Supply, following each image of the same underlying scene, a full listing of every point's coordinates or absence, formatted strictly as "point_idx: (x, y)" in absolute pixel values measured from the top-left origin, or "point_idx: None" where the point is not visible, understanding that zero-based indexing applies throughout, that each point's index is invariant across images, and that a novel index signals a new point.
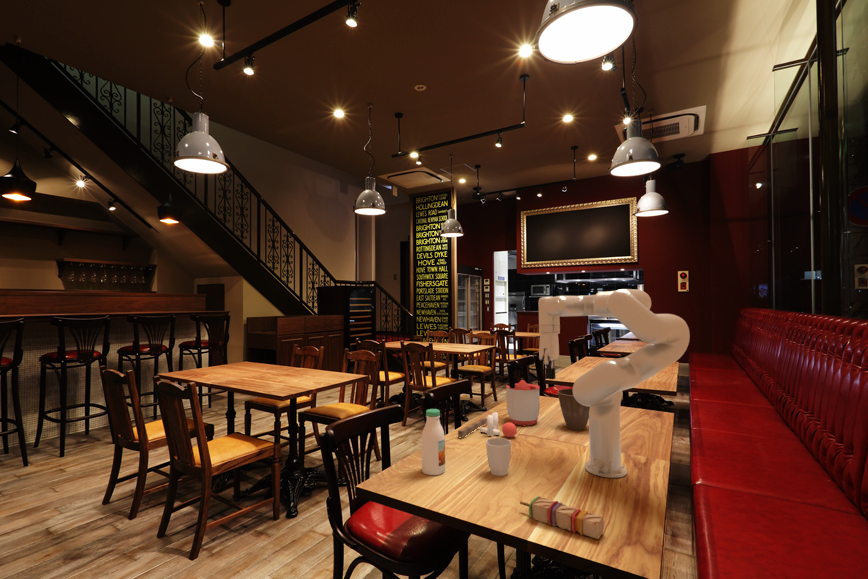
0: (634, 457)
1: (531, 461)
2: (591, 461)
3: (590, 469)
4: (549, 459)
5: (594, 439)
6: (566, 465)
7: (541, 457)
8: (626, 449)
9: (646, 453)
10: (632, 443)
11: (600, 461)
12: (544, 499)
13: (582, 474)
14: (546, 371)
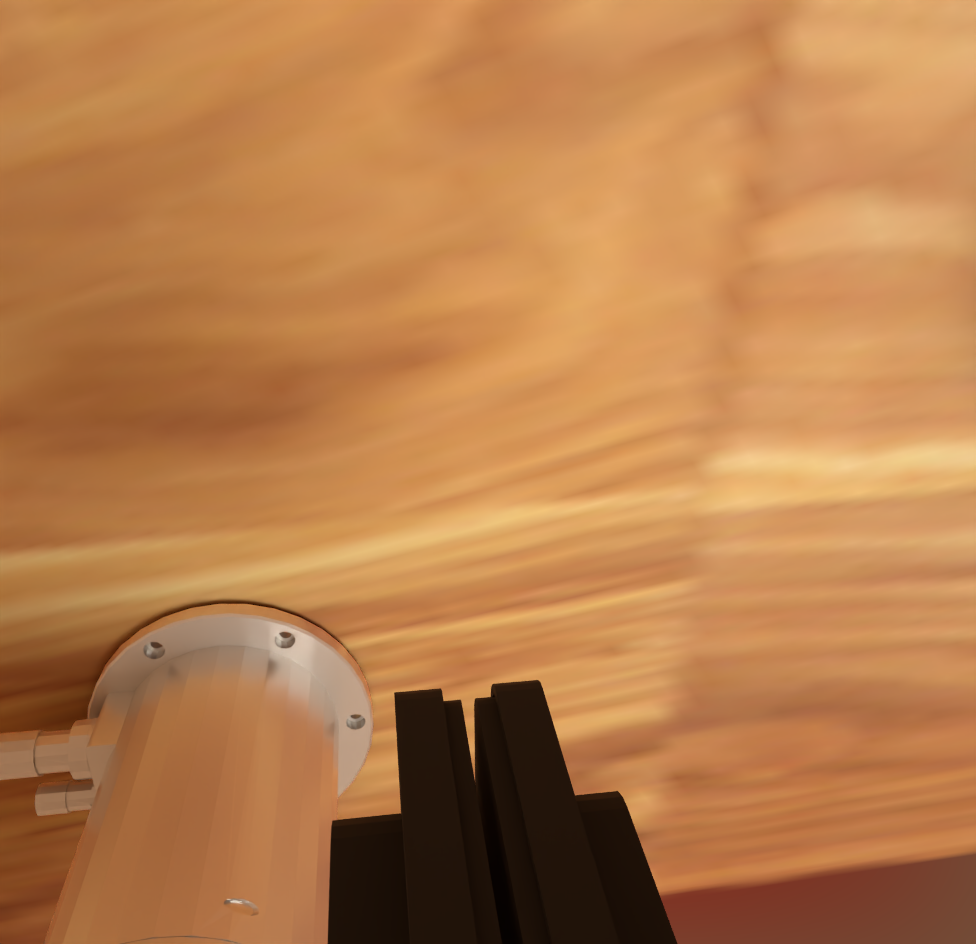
0: (604, 783)
1: (19, 194)
2: (145, 698)
3: (109, 674)
4: (187, 321)
5: (69, 876)
6: (148, 481)
7: (187, 240)
8: (750, 714)
9: (721, 816)
10: (904, 714)
11: (97, 786)
12: None
13: (53, 623)
14: (404, 914)
